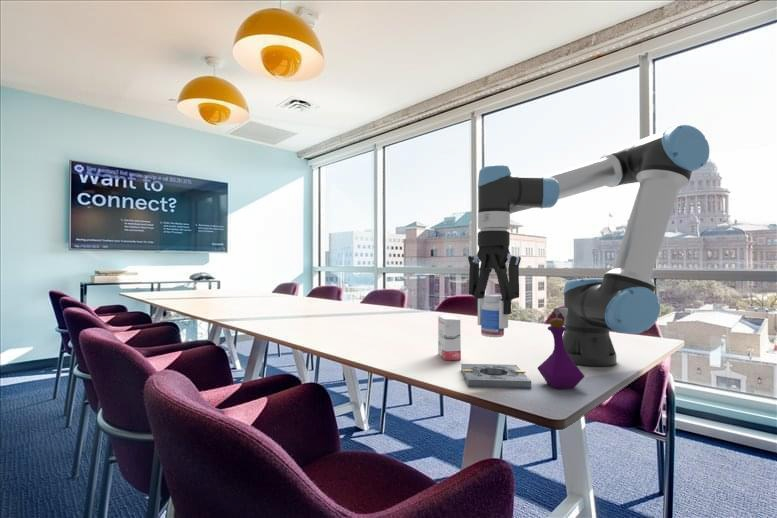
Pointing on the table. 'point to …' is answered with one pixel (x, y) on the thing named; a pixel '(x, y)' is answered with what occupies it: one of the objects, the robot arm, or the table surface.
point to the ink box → (449, 338)
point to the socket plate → (507, 378)
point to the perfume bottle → (560, 359)
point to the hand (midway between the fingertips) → (492, 326)
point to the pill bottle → (491, 317)
